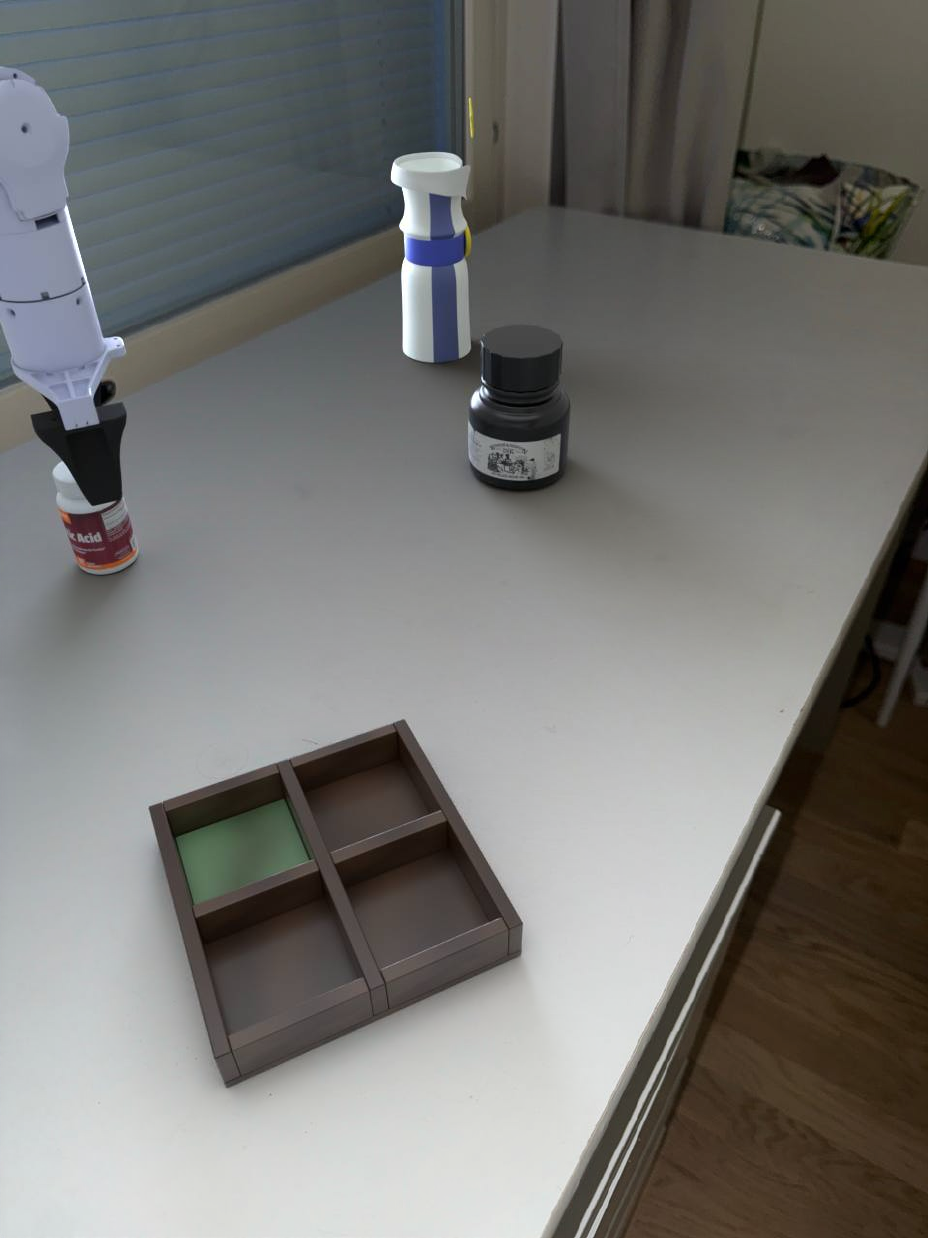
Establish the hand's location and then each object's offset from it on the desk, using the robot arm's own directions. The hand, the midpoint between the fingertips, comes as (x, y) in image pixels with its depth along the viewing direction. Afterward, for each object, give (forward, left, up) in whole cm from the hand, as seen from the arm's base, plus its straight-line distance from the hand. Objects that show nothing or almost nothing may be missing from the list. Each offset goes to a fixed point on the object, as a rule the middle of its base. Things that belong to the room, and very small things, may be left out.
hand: (97, 474), depth 66 cm
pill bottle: (-1, +3, -10) cm, 10 cm away
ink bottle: (+35, +1, -9) cm, 36 cm away
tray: (+5, -34, -9) cm, 35 cm away
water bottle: (+39, +28, -9) cm, 49 cm away
